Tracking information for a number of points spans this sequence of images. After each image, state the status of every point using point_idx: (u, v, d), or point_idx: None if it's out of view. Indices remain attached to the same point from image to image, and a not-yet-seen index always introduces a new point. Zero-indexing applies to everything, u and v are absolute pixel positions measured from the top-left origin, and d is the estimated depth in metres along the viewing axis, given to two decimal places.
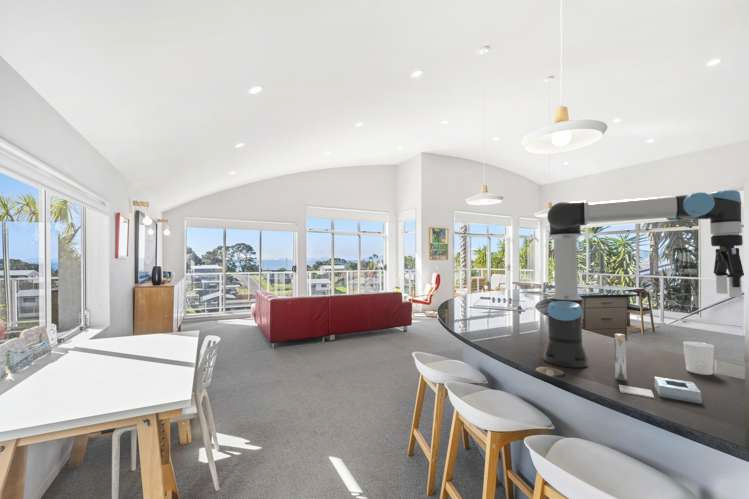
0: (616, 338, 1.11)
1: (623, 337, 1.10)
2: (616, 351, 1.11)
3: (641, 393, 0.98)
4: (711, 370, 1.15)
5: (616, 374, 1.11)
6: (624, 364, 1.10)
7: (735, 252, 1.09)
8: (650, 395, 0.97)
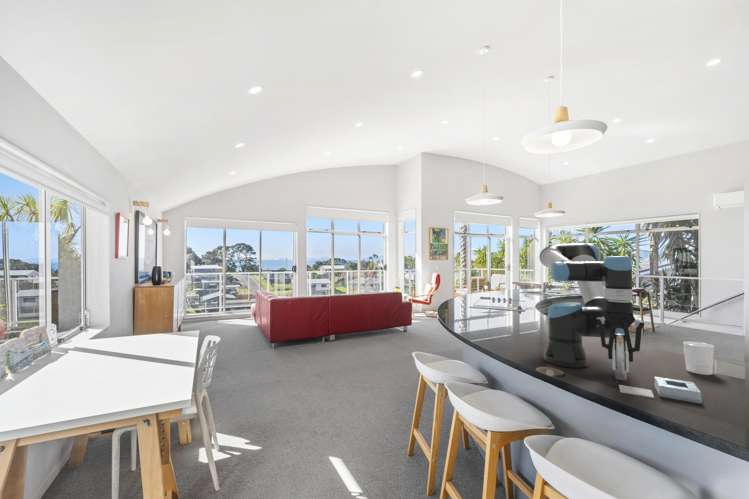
0: (616, 338, 1.11)
1: (623, 337, 1.10)
2: (616, 351, 1.11)
3: (641, 393, 0.98)
4: (711, 370, 1.15)
5: (616, 374, 1.11)
6: (624, 364, 1.10)
7: (598, 323, 1.15)
8: (650, 395, 0.97)
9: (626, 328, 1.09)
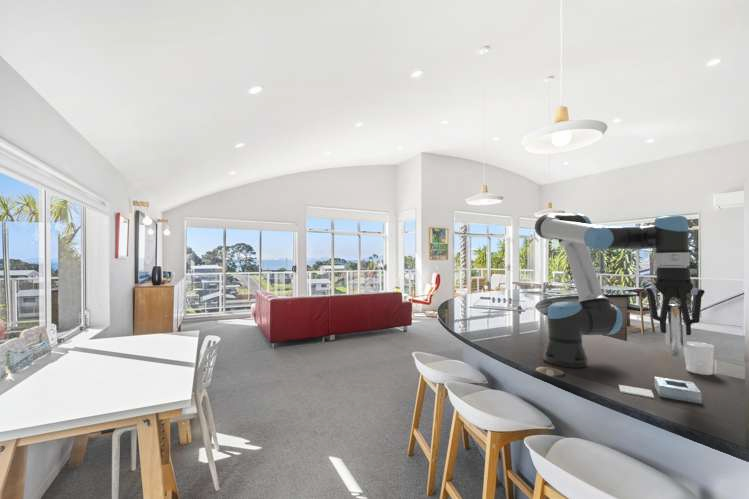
0: (670, 309, 0.98)
1: (679, 307, 0.97)
2: (670, 324, 0.98)
3: (641, 393, 0.98)
4: (711, 370, 1.15)
5: (671, 350, 0.98)
6: (681, 338, 0.97)
7: (648, 293, 1.02)
8: (650, 395, 0.97)
9: (683, 297, 0.96)
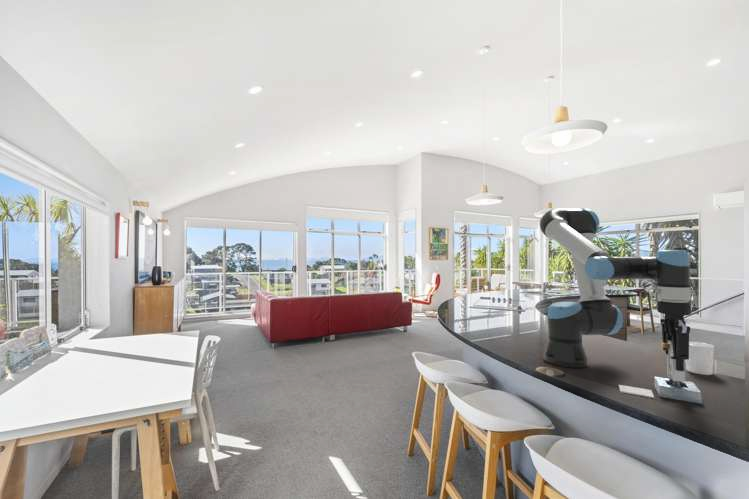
0: None
1: (671, 343, 0.98)
2: None
3: (641, 393, 0.98)
4: (711, 370, 1.15)
5: None
6: None
7: None
8: (650, 395, 0.97)
9: (670, 331, 0.98)
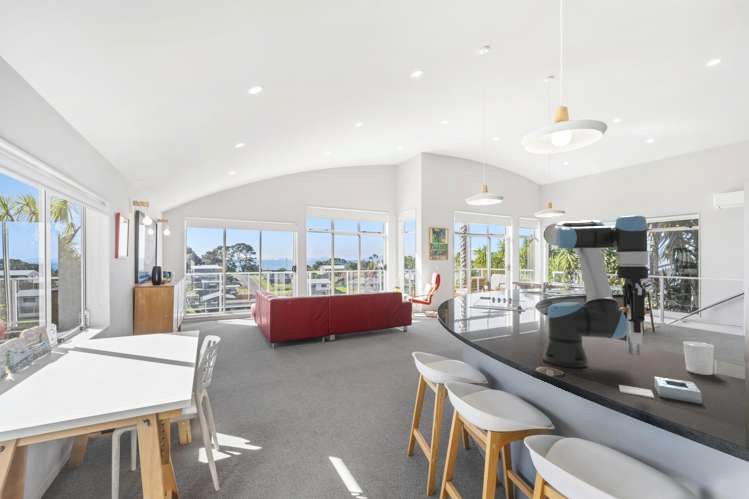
0: None
1: (629, 307, 1.01)
2: None
3: (641, 393, 0.98)
4: (711, 370, 1.15)
5: None
6: None
7: None
8: (650, 395, 0.97)
9: (628, 294, 1.00)
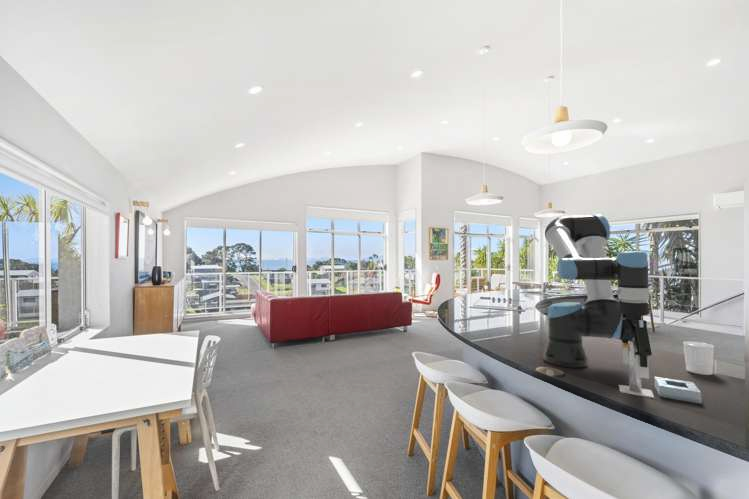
0: None
1: (630, 343, 1.00)
2: None
3: (641, 393, 0.98)
4: (711, 370, 1.15)
5: None
6: (632, 374, 1.00)
7: None
8: (650, 395, 0.97)
9: (630, 329, 0.99)
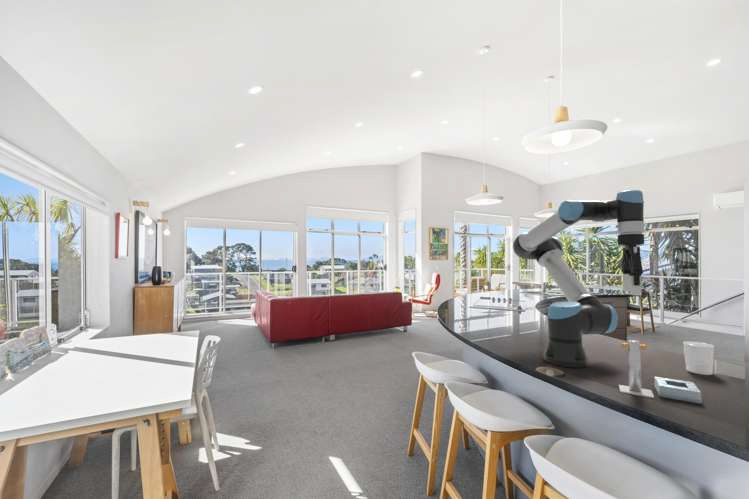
0: None
1: (630, 343, 1.00)
2: None
3: (641, 393, 0.98)
4: (711, 370, 1.15)
5: None
6: (632, 374, 1.00)
7: None
8: (650, 395, 0.97)
9: (626, 257, 1.15)
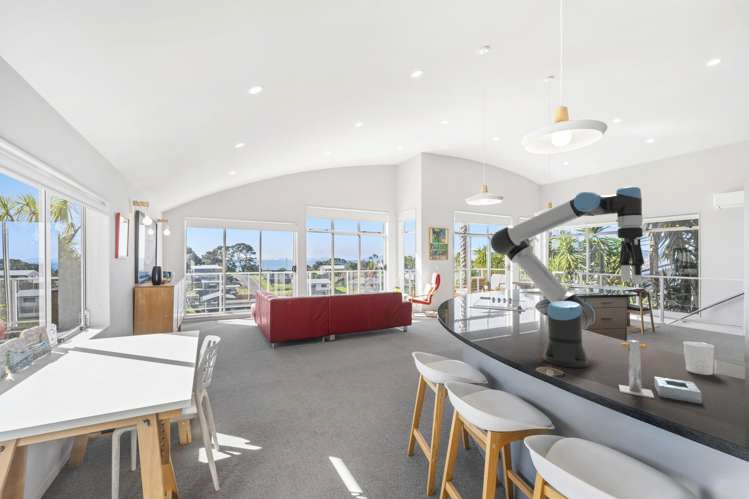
0: None
1: (630, 343, 1.00)
2: None
3: (641, 393, 0.98)
4: (711, 370, 1.15)
5: None
6: (632, 374, 1.00)
7: None
8: (650, 395, 0.97)
9: (627, 248, 1.23)
